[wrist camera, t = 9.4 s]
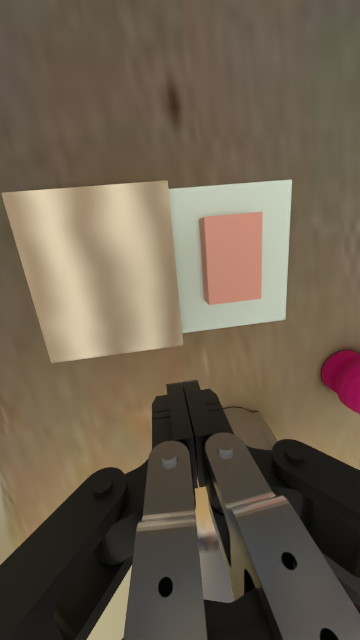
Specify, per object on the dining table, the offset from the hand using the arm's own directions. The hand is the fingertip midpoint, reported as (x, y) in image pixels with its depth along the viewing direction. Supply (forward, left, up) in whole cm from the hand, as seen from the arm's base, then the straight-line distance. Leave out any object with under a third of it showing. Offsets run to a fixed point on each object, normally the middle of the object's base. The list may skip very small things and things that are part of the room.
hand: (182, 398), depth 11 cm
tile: (-8, -5, -16) cm, 19 cm away
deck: (+5, -4, -18) cm, 19 cm away
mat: (-9, -4, -18) cm, 21 cm away
